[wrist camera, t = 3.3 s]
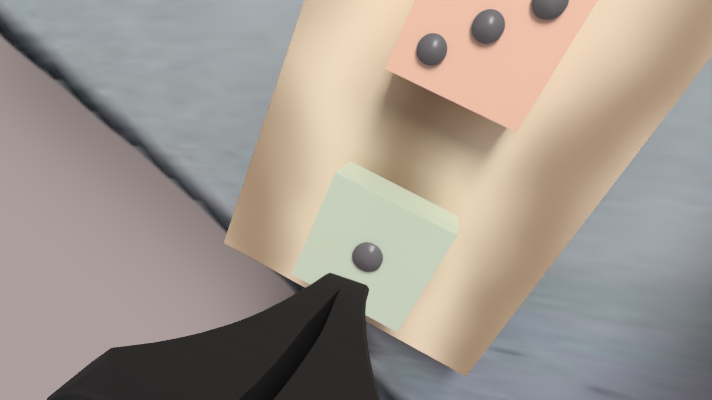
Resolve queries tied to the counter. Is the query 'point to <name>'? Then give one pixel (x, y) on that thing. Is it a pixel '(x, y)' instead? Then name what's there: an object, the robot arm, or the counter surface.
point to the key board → (463, 151)
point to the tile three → (487, 51)
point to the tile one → (377, 241)
